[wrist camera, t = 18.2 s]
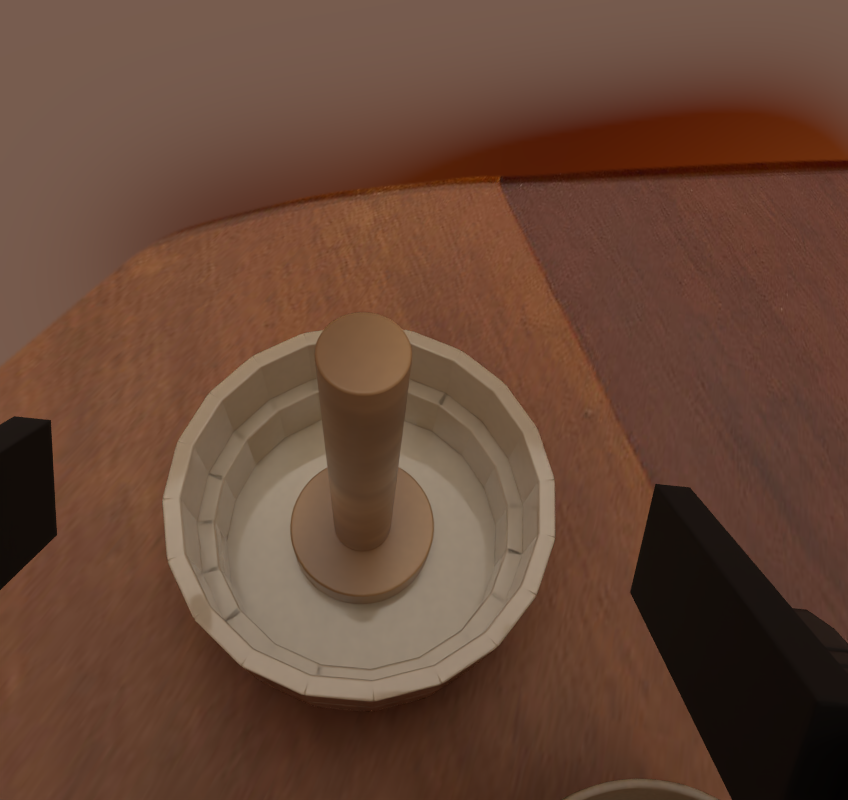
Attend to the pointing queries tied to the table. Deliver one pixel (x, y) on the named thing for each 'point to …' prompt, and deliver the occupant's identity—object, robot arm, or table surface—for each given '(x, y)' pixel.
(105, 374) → the table surface
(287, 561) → the bowl
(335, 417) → the masher
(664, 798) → the flower pot
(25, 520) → the robot arm
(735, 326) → the table surface
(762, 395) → the table surface
